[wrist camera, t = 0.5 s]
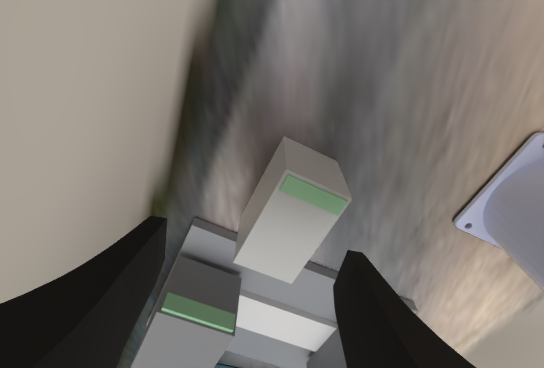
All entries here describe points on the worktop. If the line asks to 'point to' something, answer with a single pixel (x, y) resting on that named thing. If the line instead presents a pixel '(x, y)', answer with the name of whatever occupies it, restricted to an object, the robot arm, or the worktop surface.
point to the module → (290, 211)
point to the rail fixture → (239, 311)
